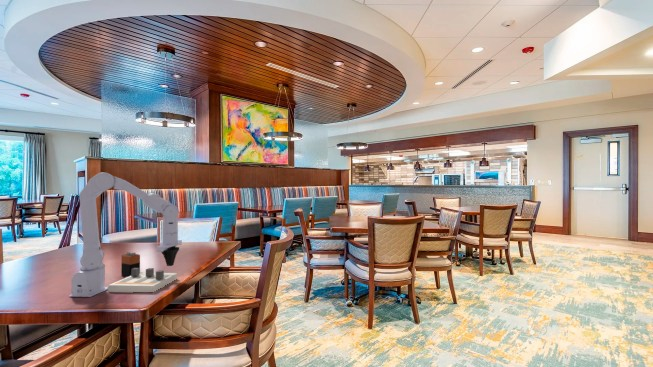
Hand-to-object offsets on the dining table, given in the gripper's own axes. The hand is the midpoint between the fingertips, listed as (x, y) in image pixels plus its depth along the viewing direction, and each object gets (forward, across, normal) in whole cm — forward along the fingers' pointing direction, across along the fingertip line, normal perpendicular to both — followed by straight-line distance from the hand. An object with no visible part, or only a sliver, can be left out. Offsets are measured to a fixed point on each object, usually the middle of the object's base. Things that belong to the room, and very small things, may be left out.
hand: (170, 265), depth 124 cm
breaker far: (+3, -4, +12) cm, 13 cm away
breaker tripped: (+3, -7, 0) cm, 8 cm away
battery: (+6, +5, +21) cm, 22 cm away
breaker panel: (+6, -7, +6) cm, 11 cm away
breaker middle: (+3, -4, +6) cm, 8 cm away
